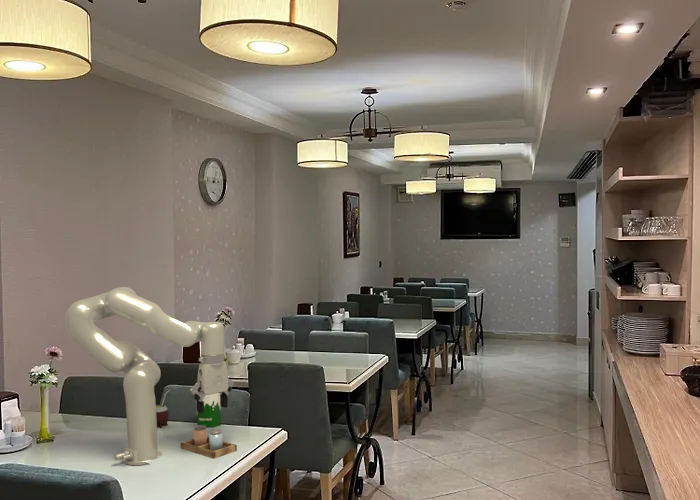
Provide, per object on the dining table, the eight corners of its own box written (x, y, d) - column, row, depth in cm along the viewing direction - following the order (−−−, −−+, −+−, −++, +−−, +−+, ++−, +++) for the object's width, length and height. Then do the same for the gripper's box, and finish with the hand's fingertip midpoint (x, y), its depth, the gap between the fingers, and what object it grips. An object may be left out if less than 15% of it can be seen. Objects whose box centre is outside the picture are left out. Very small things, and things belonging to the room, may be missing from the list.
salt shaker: (215, 455, 219) (214, 433, 219) (207, 452, 222) (206, 431, 221) (225, 451, 222) (225, 430, 222) (217, 448, 225) (216, 428, 225)
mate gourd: (149, 425, 262) (147, 388, 261) (169, 422, 265) (167, 385, 265) (151, 430, 255) (150, 391, 255) (172, 427, 258) (171, 389, 258)
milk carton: (194, 431, 252) (192, 379, 251) (202, 424, 261) (200, 374, 260) (217, 431, 251) (214, 378, 250) (223, 424, 260) (221, 373, 259)
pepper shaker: (199, 450, 225) (198, 429, 225) (191, 447, 228) (190, 427, 227) (209, 446, 228) (209, 426, 228) (202, 444, 231) (201, 424, 231)
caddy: (213, 462, 215) (213, 452, 215) (181, 451, 227) (180, 442, 227) (237, 454, 222) (236, 444, 222) (204, 444, 235) (203, 435, 235)
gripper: (197, 364, 212) (197, 416, 213) (239, 357, 225) (239, 406, 226) (184, 361, 217) (183, 412, 218) (226, 354, 230) (225, 403, 231)
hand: (212, 409), depth 222 cm, fingers open, 9 cm apart
